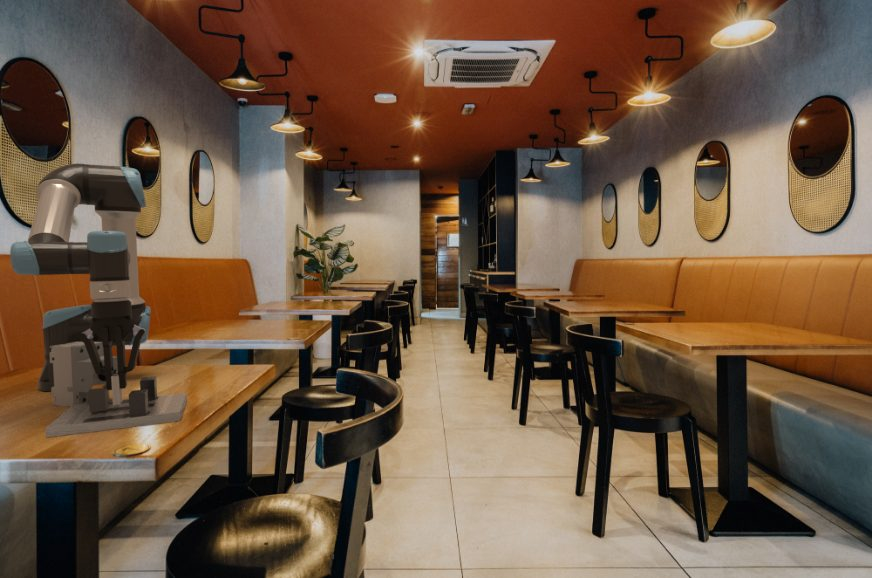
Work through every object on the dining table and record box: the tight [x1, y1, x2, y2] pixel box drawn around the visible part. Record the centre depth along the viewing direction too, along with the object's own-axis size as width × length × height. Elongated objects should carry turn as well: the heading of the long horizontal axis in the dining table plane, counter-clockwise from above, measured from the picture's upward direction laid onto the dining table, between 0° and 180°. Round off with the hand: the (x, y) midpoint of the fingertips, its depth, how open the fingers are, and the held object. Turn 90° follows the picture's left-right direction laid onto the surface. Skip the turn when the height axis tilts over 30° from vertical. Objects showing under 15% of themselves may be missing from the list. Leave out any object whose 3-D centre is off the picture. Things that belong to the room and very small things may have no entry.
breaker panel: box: [45, 376, 188, 438], centre depth 110 cm, size 18×24×7 cm
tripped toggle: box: [88, 384, 110, 412], centre depth 108 cm, size 4×3×5 cm
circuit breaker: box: [50, 342, 118, 407], centre depth 123 cm, size 8×14×15 cm, turn 78°
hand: (117, 403), depth 110 cm, fingers closed
